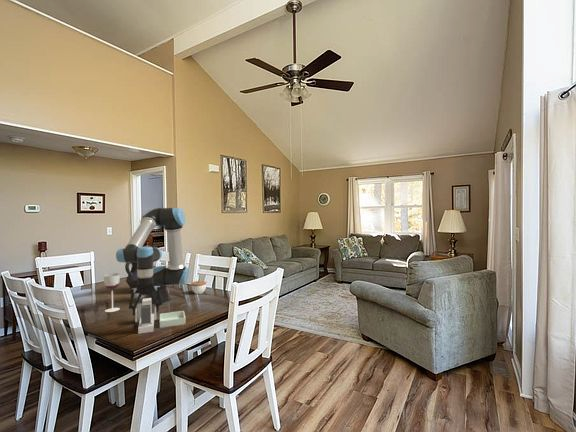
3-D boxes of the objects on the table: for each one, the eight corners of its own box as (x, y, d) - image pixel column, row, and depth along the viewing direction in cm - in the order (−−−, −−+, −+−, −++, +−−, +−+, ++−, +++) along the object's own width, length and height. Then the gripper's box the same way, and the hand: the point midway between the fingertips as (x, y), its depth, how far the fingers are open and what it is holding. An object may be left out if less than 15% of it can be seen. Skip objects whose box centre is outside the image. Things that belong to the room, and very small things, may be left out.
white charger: (143, 315, 171) (142, 298, 170) (151, 314, 172) (151, 297, 172) (142, 318, 166) (142, 301, 166) (151, 317, 168) (151, 300, 168)
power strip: (141, 316, 177) (141, 309, 177) (154, 315, 179) (154, 308, 179) (138, 333, 153) (138, 325, 153) (153, 331, 155) (153, 323, 155)
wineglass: (103, 313, 183) (103, 277, 183) (104, 308, 192) (104, 274, 191) (120, 310, 187) (119, 275, 187) (120, 306, 196) (120, 272, 195)
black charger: (141, 323, 159) (141, 305, 158) (150, 322, 160) (150, 304, 160) (141, 326, 154) (140, 308, 154) (150, 325, 156) (150, 307, 156)
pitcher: (161, 289, 236) (160, 258, 236) (134, 296, 218) (133, 262, 217) (145, 286, 247) (145, 255, 247) (118, 292, 229) (118, 259, 228)
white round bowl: (193, 291, 232) (193, 279, 232) (207, 290, 233) (207, 278, 233) (189, 295, 221) (189, 282, 221) (204, 294, 222) (204, 282, 222)
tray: (159, 328, 160) (159, 321, 160) (159, 319, 172) (159, 313, 172) (185, 324, 165) (185, 318, 165) (184, 316, 177) (183, 310, 177)
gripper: (121, 280, 149) (122, 325, 150) (167, 276, 157) (168, 319, 158) (123, 277, 156) (123, 320, 157) (167, 273, 164) (167, 314, 165)
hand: (146, 319), depth 157 cm, fingers open, 8 cm apart
